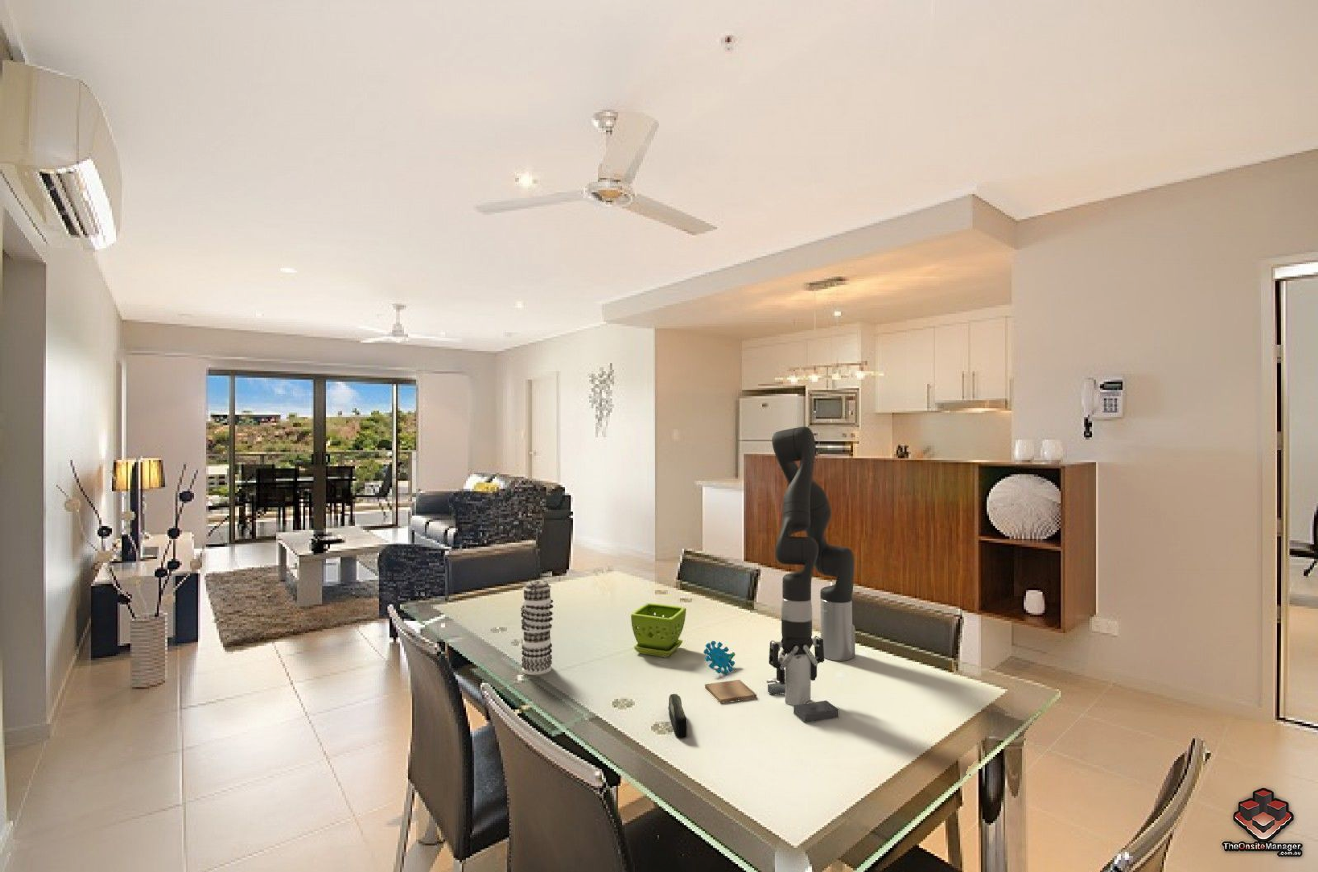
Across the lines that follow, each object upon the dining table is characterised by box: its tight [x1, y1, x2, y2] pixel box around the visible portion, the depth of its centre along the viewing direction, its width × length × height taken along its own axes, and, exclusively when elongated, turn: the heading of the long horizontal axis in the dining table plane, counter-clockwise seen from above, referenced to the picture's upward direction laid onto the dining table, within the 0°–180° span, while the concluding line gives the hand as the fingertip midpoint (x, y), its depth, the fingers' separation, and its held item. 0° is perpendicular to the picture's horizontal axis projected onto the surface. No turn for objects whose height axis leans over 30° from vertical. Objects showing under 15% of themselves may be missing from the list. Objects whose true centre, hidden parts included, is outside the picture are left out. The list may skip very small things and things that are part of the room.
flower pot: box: [630, 602, 687, 659], centre depth 186 cm, size 14×14×13 cm
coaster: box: [704, 679, 758, 704], centre depth 154 cm, size 10×10×1 cm
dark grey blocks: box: [766, 677, 839, 724], centre depth 149 cm, size 9×22×2 cm, turn 18°
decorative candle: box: [520, 579, 554, 676], centre depth 171 cm, size 9×9×25 cm
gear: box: [703, 640, 736, 675], centre depth 171 cm, size 11×6×10 cm
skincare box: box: [784, 654, 812, 707], centre depth 149 cm, size 6×4×12 cm
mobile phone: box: [667, 693, 688, 739], centre depth 138 cm, size 5×3×15 cm
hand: (796, 681), depth 149 cm, fingers open, 8 cm apart
